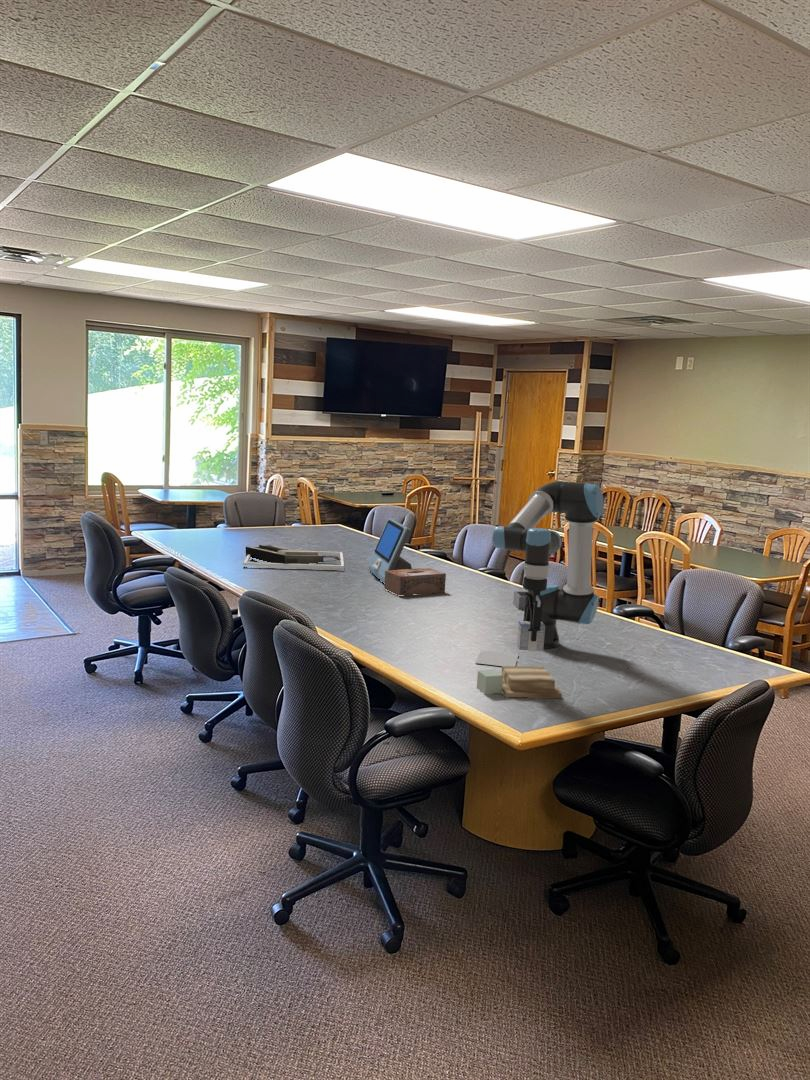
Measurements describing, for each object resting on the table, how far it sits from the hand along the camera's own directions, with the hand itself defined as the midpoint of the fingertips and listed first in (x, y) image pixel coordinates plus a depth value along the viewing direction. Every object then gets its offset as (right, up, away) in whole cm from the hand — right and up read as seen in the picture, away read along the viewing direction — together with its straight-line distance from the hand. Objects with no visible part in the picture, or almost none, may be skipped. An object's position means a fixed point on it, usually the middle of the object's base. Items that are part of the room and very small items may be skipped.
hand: (529, 647), depth 264 cm
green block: (-13, -13, -2) cm, 19 cm away
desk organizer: (+21, +4, +116) cm, 119 cm away
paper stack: (-3, -10, +27) cm, 29 cm away
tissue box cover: (-36, +9, +136) cm, 141 cm away
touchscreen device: (-47, +14, +164) cm, 171 cm away
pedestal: (-1, -13, +2) cm, 14 cm away
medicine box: (0, -1, 0) cm, 1 cm away
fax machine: (-101, +22, +193) cm, 219 cm away
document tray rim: (-101, +22, +193) cm, 219 cm away
